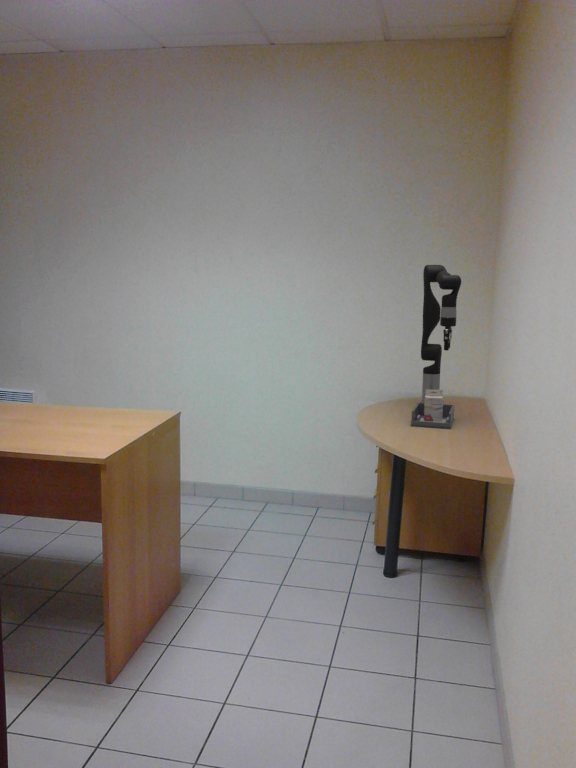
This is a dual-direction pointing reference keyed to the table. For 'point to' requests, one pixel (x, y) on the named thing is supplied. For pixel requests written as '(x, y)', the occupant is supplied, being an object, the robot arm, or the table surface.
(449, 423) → the walled box
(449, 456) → the table surface
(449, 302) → the robot arm
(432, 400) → the ink cartridge box
